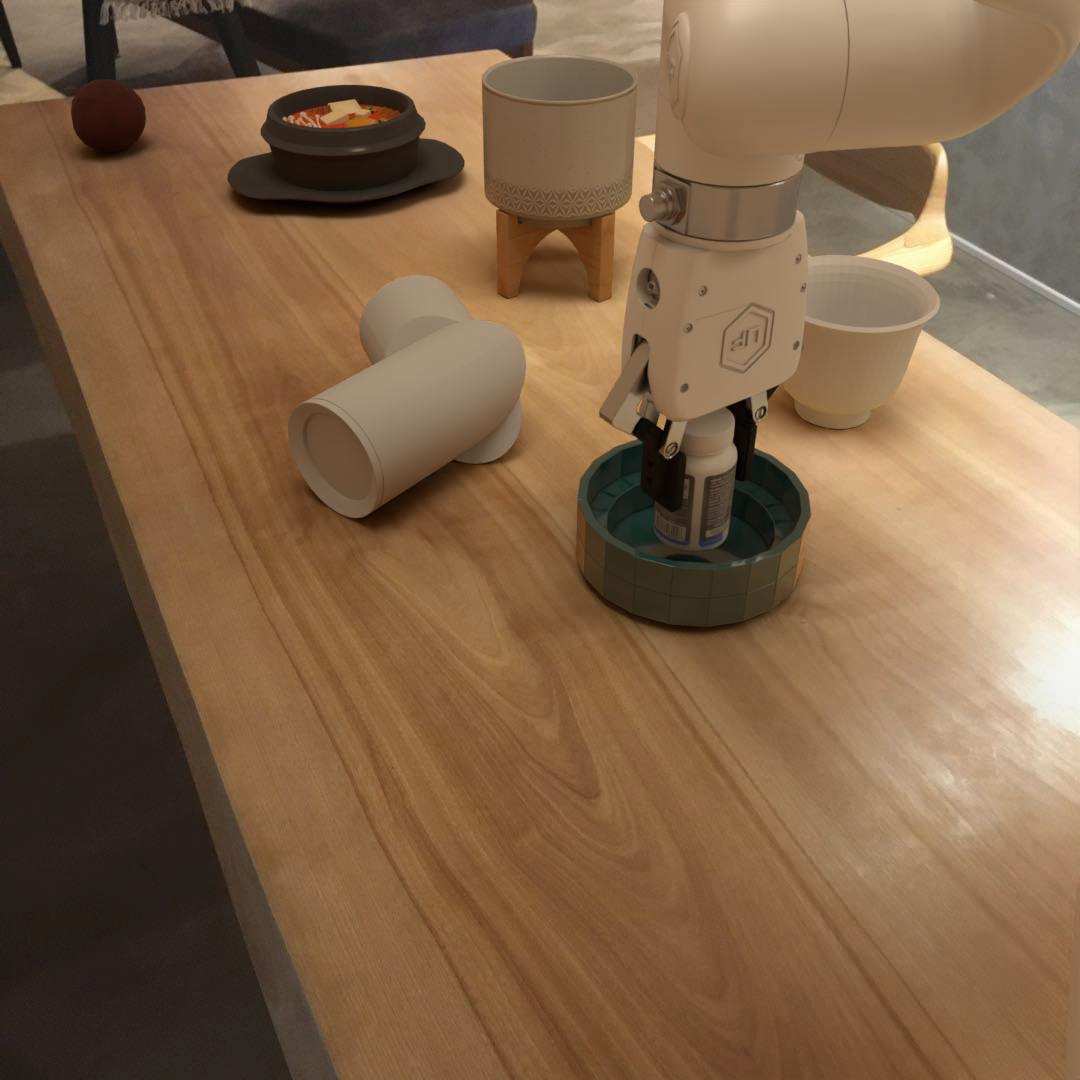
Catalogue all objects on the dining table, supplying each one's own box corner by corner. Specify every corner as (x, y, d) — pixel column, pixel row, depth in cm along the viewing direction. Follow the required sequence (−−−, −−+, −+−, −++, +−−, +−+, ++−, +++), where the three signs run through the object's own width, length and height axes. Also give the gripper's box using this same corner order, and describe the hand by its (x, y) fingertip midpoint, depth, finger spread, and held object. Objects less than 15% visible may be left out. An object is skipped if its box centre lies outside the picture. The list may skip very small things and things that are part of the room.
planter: (458, 272, 109) (449, 73, 98) (562, 235, 116) (565, 45, 105) (550, 321, 101) (552, 112, 90) (656, 278, 108) (670, 79, 97)
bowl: (846, 585, 74) (859, 521, 71) (658, 664, 68) (664, 598, 65) (710, 473, 83) (716, 412, 80) (536, 534, 78) (536, 471, 75)
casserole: (241, 233, 116) (227, 148, 111) (221, 167, 130) (208, 89, 125) (485, 203, 122) (483, 122, 117) (441, 144, 136) (438, 68, 131)
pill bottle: (721, 508, 76) (735, 395, 71) (733, 554, 72) (748, 438, 67) (648, 509, 76) (657, 396, 71) (656, 555, 72) (665, 439, 67)
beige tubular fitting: (585, 475, 81) (490, 344, 95) (555, 347, 74) (457, 227, 88) (343, 577, 78) (283, 425, 93) (288, 454, 71) (233, 312, 86)
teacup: (701, 375, 94) (713, 258, 88) (883, 367, 95) (907, 250, 89) (734, 459, 85) (750, 334, 79) (936, 449, 86) (966, 325, 80)
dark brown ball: (167, 139, 137) (153, 70, 132) (127, 167, 130) (111, 96, 125) (104, 133, 138) (88, 65, 134) (61, 161, 131) (43, 90, 126)
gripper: (642, 260, 55) (624, 567, 66) (892, 183, 62) (838, 469, 73) (548, 209, 59) (546, 502, 71) (791, 143, 67) (755, 416, 78)
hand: (695, 482), depth 72 cm, fingers closed on pill bottle, 4 cm apart
